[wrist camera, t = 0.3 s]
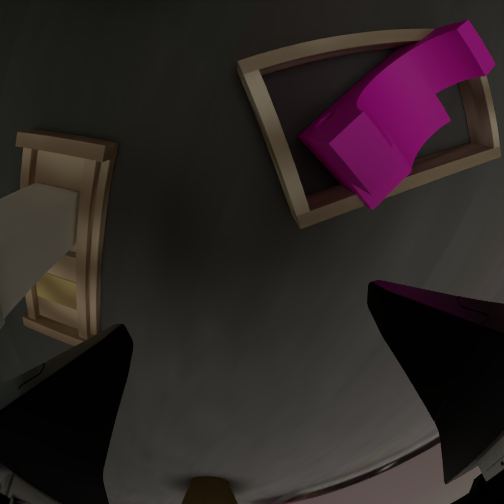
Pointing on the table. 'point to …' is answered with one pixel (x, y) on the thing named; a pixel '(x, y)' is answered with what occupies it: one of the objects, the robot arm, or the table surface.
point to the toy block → (394, 111)
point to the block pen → (423, 168)
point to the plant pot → (209, 492)
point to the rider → (33, 237)
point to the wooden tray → (88, 231)
